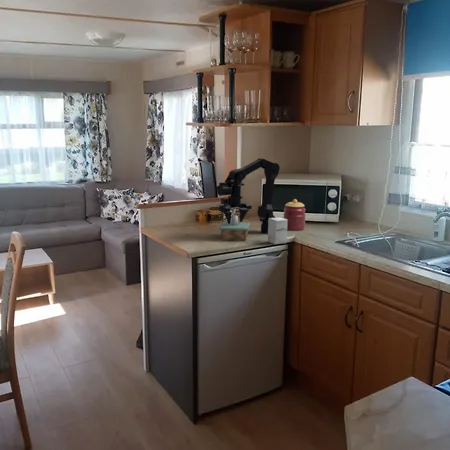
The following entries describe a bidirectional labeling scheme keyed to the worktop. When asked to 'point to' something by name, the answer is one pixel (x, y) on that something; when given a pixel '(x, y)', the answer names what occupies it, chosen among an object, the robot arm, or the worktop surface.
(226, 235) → the box
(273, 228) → the supplement box
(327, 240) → the worktop surface
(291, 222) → the canister
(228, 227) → the lid
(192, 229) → the worktop surface
